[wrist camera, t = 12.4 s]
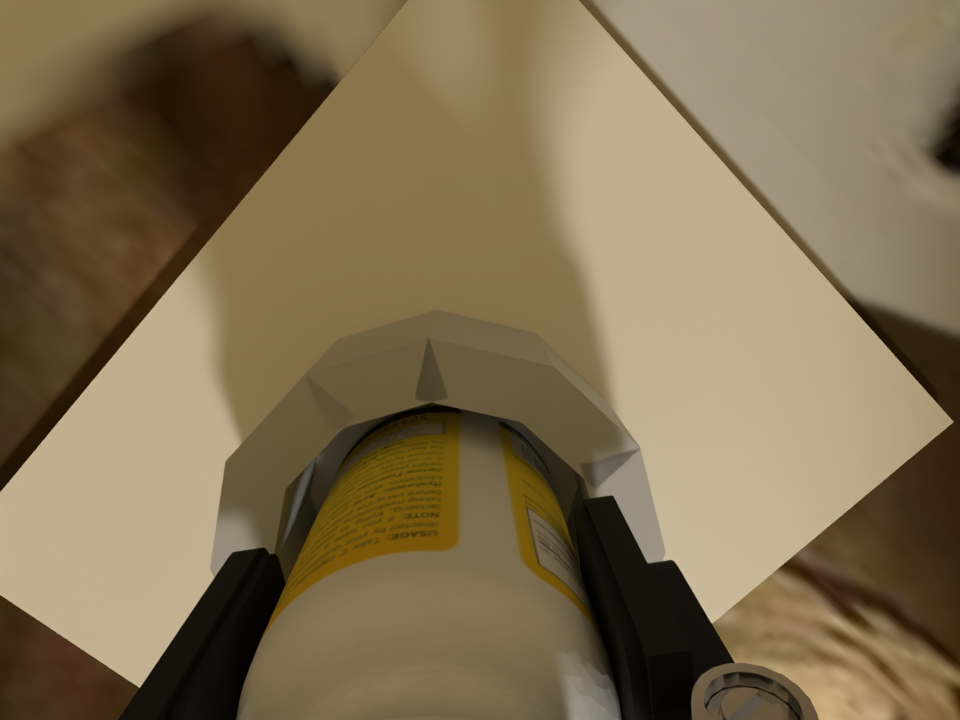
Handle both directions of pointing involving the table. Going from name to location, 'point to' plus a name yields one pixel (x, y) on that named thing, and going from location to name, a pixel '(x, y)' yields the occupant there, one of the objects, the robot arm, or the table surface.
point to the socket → (468, 337)
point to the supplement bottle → (435, 588)
